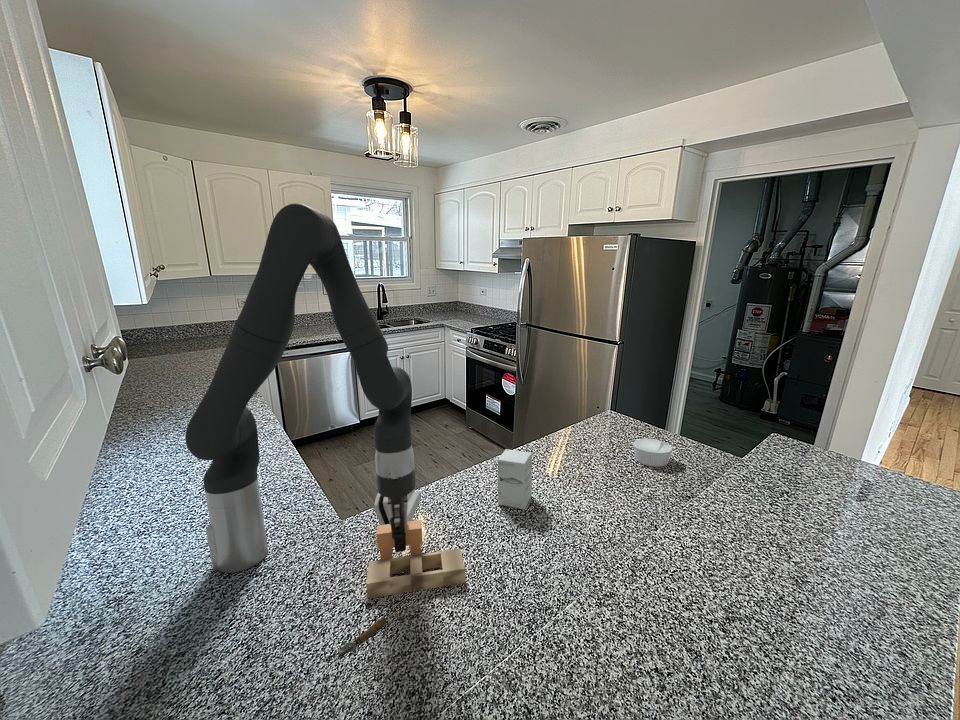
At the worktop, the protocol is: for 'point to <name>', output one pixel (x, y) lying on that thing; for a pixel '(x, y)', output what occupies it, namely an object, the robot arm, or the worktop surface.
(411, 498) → the grey piece
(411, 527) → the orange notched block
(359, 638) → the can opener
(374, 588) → the rail
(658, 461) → the ramekin
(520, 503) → the supplement box
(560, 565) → the worktop surface
